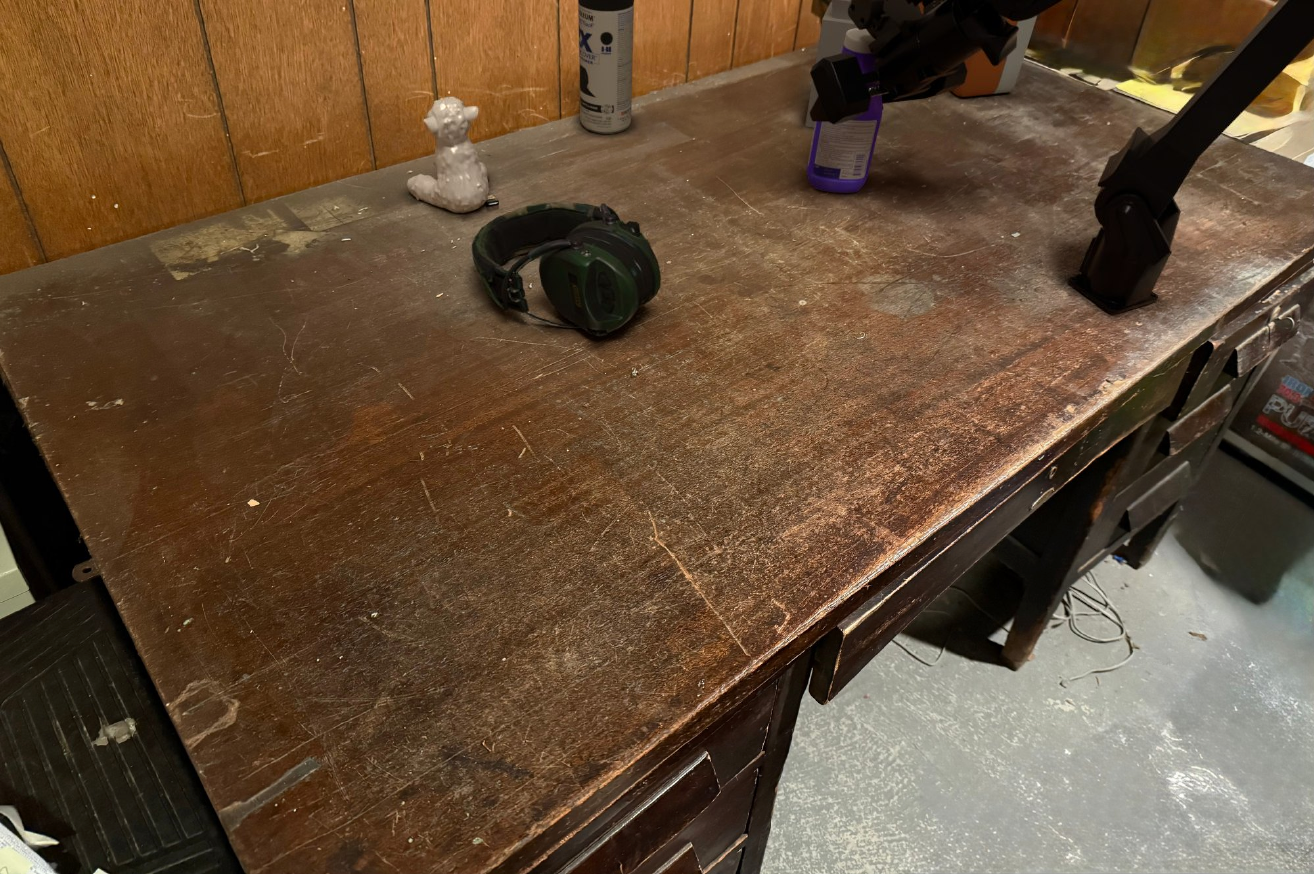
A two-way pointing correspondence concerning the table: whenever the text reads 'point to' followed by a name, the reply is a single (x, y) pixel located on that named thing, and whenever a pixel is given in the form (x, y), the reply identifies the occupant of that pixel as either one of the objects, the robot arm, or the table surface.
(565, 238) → the headphones
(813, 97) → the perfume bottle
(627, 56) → the spray can
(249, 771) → the table surface
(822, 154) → the bottle
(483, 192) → the sitting furry creature
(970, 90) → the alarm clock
